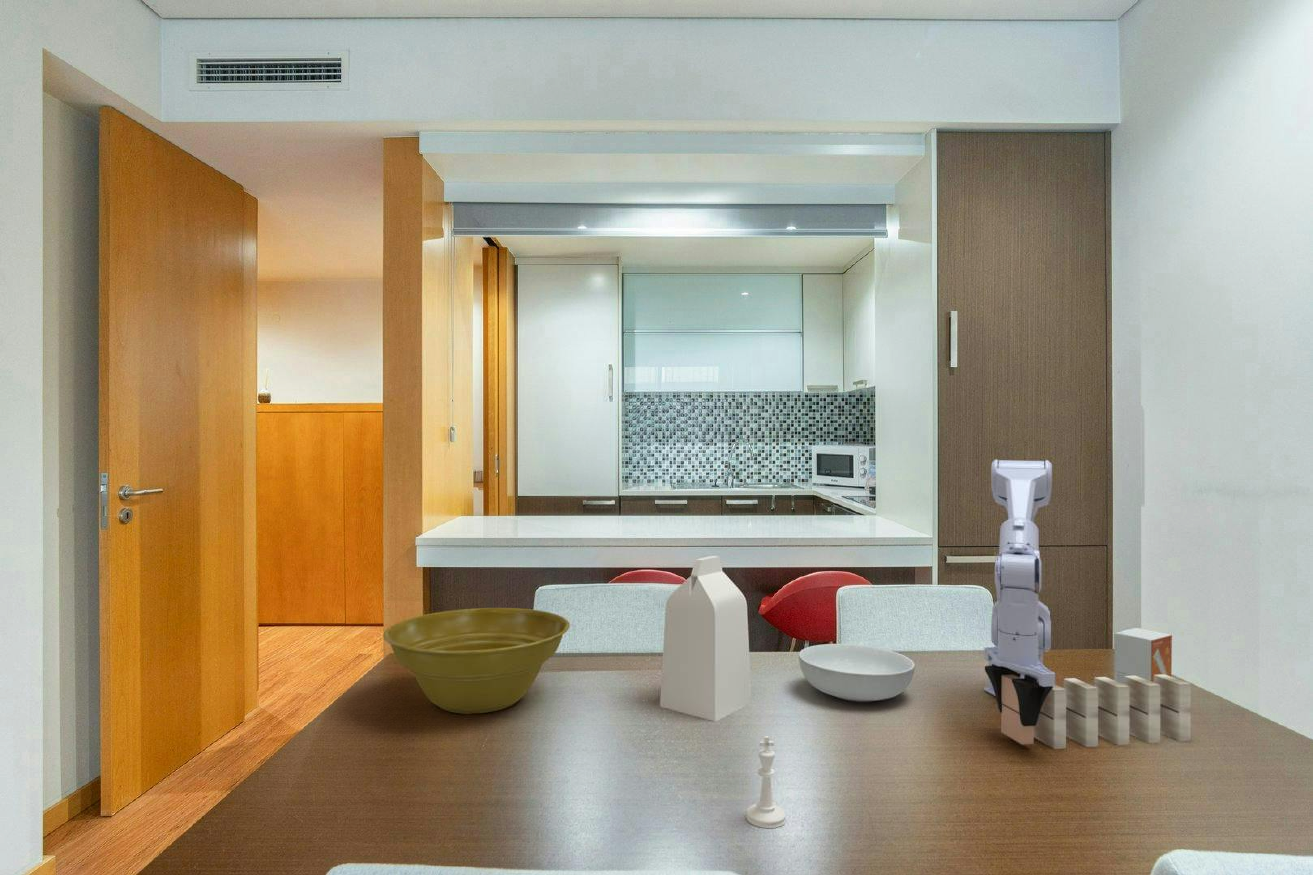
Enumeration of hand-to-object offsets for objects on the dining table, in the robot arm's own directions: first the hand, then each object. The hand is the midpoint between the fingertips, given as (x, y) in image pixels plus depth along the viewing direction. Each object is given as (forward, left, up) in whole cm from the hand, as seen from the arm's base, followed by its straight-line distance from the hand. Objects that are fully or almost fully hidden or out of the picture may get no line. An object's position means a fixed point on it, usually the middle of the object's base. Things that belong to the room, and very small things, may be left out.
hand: (1017, 718), depth 117 cm
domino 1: (0, +5, -4) cm, 7 cm away
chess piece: (+17, -46, -4) cm, 49 cm away
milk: (-24, -44, -4) cm, 50 cm away
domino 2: (0, +11, -4) cm, 12 cm away
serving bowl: (-26, -15, -4) cm, 30 cm away
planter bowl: (-31, -84, -4) cm, 90 cm away
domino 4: (0, +22, -4) cm, 22 cm away
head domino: (0, 0, -3) cm, 3 cm away
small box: (-13, +34, -4) cm, 37 cm away
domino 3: (0, +16, -4) cm, 17 cm away
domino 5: (0, +27, -4) cm, 28 cm away
